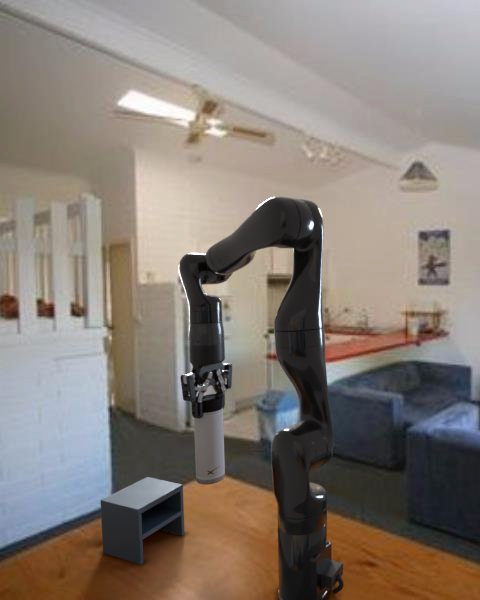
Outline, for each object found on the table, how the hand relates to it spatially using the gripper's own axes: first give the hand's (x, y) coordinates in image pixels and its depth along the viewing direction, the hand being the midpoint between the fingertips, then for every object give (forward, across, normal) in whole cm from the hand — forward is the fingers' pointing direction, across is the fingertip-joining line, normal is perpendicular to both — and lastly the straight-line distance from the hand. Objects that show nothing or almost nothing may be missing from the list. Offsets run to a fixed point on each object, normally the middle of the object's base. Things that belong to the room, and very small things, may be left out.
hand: (209, 413), depth 110 cm
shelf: (+29, -9, +11) cm, 32 cm away
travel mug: (+16, 0, 0) cm, 16 cm away
